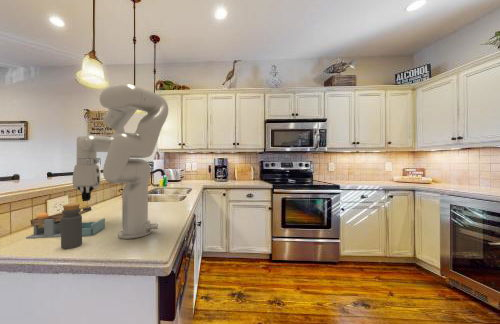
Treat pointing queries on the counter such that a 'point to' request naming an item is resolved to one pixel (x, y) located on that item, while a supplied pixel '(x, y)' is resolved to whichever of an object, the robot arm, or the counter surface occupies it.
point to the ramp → (56, 218)
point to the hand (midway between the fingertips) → (86, 200)
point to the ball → (42, 215)
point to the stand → (47, 230)
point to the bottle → (71, 226)
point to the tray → (92, 227)
